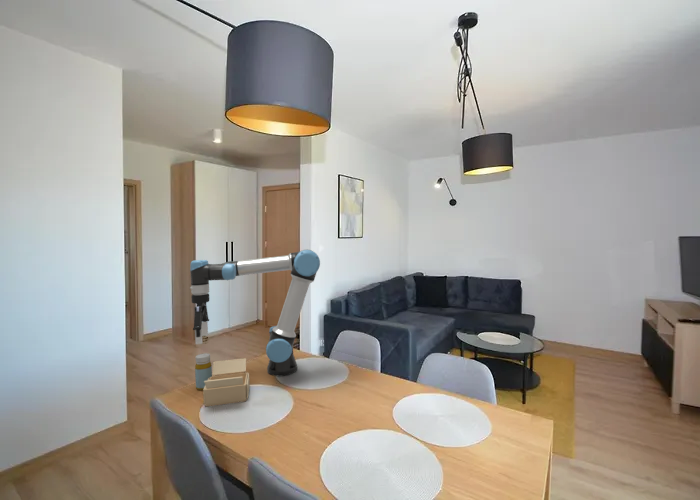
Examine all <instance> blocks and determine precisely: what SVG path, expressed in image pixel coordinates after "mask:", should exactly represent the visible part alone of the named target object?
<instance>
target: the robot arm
mask: <svg viewBox="0 0 700 500" xmlns="http://www.w3.org/2000/svg"><path fill="white" fill-rule="evenodd" d="M320 267H321V259H320V257H319V255H318V254H317V253H316V252H315V251H314V250H311V249H303V250H299V251H296V252H290V253H289V254H287V255H279V256H271V257H261V258H252V259H251V258H250V259H243V260H235V261H225V262H223V263H215V264H214V263H213V264H212V263H209V261H208V260H207V259H196V260H195V259H194V260H192V261H191V262H190V270H189V271H190V285H191V286H190V287H189V290H191V291H190V292H191V303H192V304H196V306H195V307H194V318H193V319H194V322H193V328H192V330H193V331H194V333H195V334H194V339H195V342H194V343H195V345H203V336H204V337H205V336H208V335H209V331H208V329H209V328H208V327H209V326H208V325H209V324H208V322H209V321H210V319H209V315H208V306H207V303H209V302H210V282H209V281H229V280H235V278H236V277H239V276H249V275H256V274H265V273H266V274H267V273H273V272H281V271H282V272H285V271H290V276H291V281H290V284H289V287H288V290H287V294H286V297H285V299H284V303H283V306H282V309H281V312H280V316H279V318H278V322H277V325H273V326H271V327H269V339H268V342H267V344H266V347H265V353H266V354H265V355H266V356H267V358H268V359H269V361H268V364H267V368H266V369H267V374H269V375H271V376H274V377H275V376H276V377H281V376H282V377H283V376H288V375H292V374H294V373H295V372H297V370H298V364H297V361H296V358H295V356H294V355H295V354H294V343H295V340H296V337H297V334H296V332H295V330H296V327H297V324H298V321H299V317H300V315H301V311H302V308H303V306H304V302H305V298H306V296H307V293H308V290H309V288H310V284H311V283H314V281H315V278H316V276H317V272H318V271H319V269H320Z"/></svg>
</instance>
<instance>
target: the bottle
mask: <svg viewBox="0 0 700 500" xmlns="http://www.w3.org/2000/svg"><path fill="white" fill-rule="evenodd" d="M194 370H195V371H194V372H195V373H194V374H195V389H196V390H197V391H203V389H204V387H205V382H204V381H207V380H208V378H210V377H212V376H213V375H212V373H213V365H212V362H211V353H207V352H205V353H199V354H197V355H196V356H195V366H194Z"/></svg>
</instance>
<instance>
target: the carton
mask: <svg viewBox="0 0 700 500" xmlns="http://www.w3.org/2000/svg"><path fill="white" fill-rule="evenodd" d="M233 377H242V378H243V384H242V385H234V386H226V387H218V388H209V389H207V388H206V385H205V387H204V389H203V390H202V392H203V405H205V408H207V407H214V406H215V405H216V406H222V405H223V404H224V405H229V404H230V405H231V404H240V403H245V402H246V403H247V400H248V399H249V395H250V388H251V386H250V372H248V371H246V372H238V373H229V374H220V375H212V377H210V378H208V380H216V379H225V378H233Z"/></svg>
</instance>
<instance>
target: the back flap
mask: <svg viewBox="0 0 700 500" xmlns="http://www.w3.org/2000/svg"><path fill="white" fill-rule="evenodd" d="M212 363H213V365H212V376H220V375H229V374H238V373H247V358H246V357H245V358H234V359H225V360H216V361H213V362H212Z"/></svg>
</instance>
